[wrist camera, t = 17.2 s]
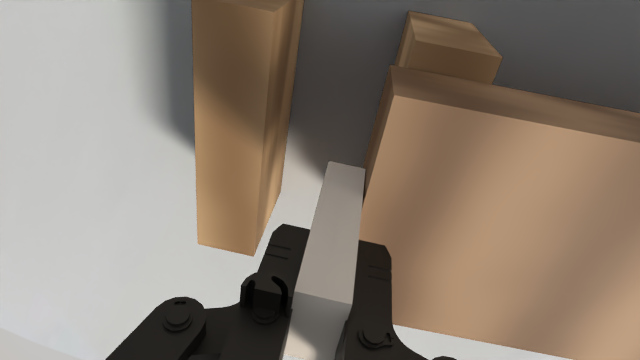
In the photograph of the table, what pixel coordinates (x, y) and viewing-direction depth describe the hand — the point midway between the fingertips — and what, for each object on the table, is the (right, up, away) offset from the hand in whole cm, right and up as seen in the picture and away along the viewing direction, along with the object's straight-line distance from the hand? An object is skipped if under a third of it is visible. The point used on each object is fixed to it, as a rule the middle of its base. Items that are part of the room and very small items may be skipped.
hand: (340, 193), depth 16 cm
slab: (+9, -1, +1) cm, 9 cm away
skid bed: (0, +4, +6) cm, 7 cm away
